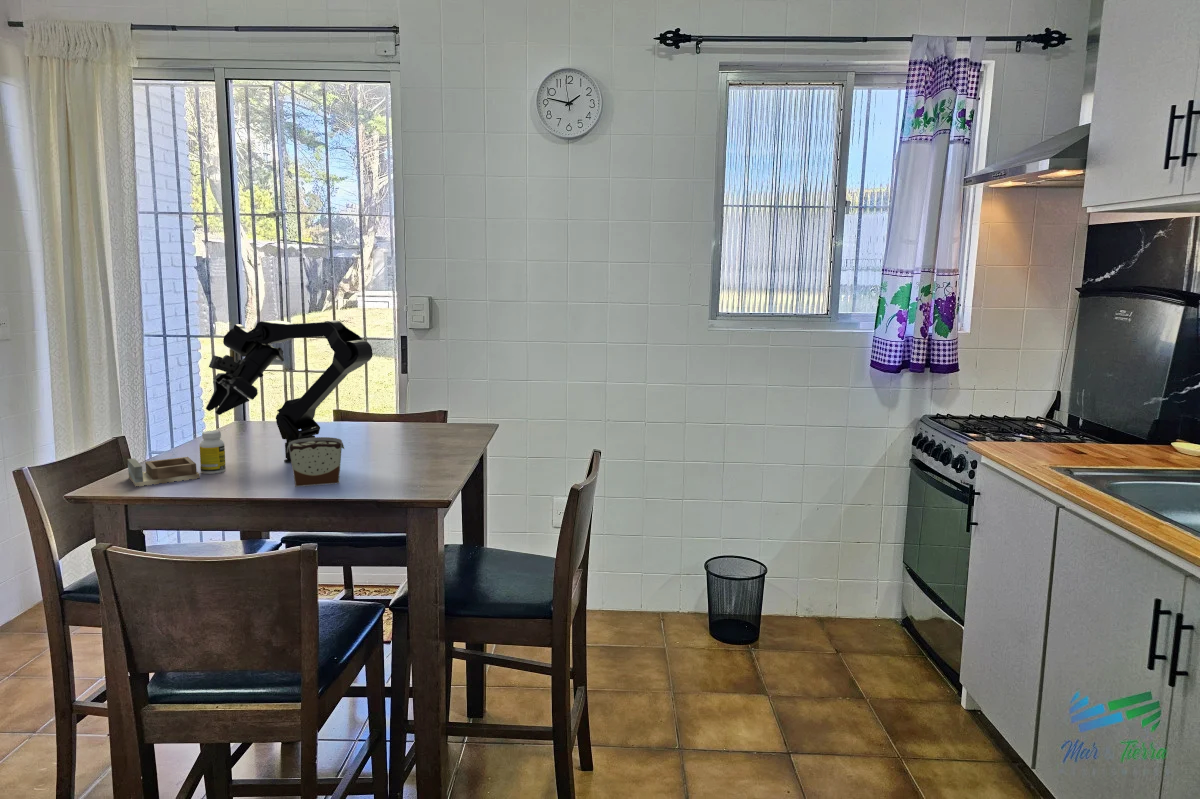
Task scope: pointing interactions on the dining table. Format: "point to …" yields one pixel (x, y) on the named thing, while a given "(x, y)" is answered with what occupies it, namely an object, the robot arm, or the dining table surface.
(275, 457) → the dining table surface
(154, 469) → the wooden display tray
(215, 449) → the supplement bottle
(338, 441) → the food container
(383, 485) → the dining table surface
